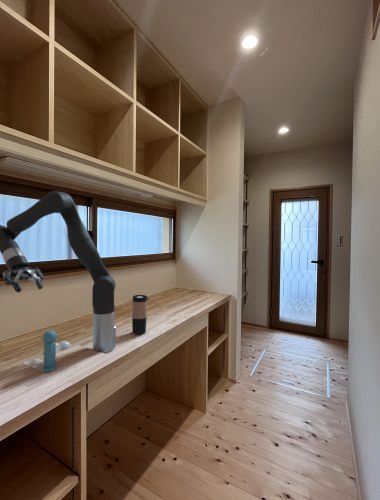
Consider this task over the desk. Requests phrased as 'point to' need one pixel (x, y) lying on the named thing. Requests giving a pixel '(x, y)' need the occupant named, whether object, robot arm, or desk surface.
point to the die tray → (62, 345)
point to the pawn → (49, 351)
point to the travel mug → (139, 314)
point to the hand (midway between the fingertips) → (30, 289)
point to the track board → (38, 366)
